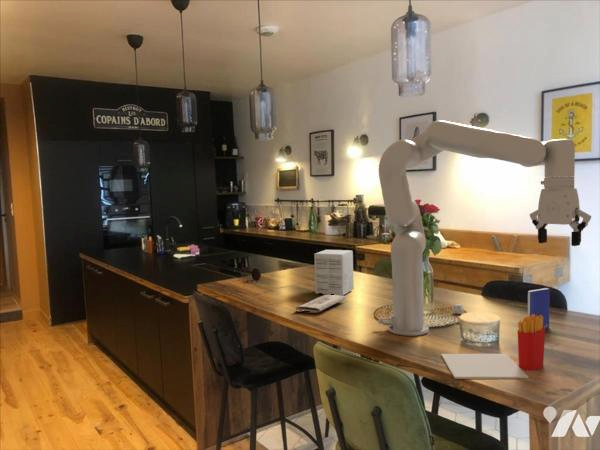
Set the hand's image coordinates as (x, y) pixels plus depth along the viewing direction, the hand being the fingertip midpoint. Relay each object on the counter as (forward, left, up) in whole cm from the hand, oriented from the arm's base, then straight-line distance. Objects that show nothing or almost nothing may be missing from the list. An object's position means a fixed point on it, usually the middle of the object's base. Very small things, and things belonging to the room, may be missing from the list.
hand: (558, 244), depth 143 cm
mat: (-27, -20, -28) cm, 44 cm away
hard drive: (-1, +12, -28) cm, 31 cm away
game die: (-21, +32, -28) cm, 47 cm away
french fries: (-15, -20, -28) cm, 38 cm away
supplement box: (-65, +70, -28) cm, 99 cm away
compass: (-104, +89, -28) cm, 140 cm away
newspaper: (-71, +44, -29) cm, 88 cm away
